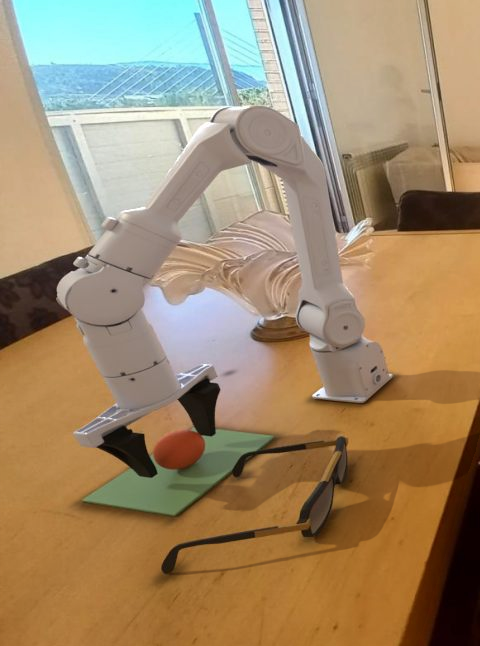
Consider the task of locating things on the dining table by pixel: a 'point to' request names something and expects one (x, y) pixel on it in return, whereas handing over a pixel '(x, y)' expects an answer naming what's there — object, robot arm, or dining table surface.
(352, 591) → the dining table surface
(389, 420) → the dining table surface
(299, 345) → the dining table surface
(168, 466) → the egg
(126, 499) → the cloth
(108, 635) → the dining table surface
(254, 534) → the sunglasses
